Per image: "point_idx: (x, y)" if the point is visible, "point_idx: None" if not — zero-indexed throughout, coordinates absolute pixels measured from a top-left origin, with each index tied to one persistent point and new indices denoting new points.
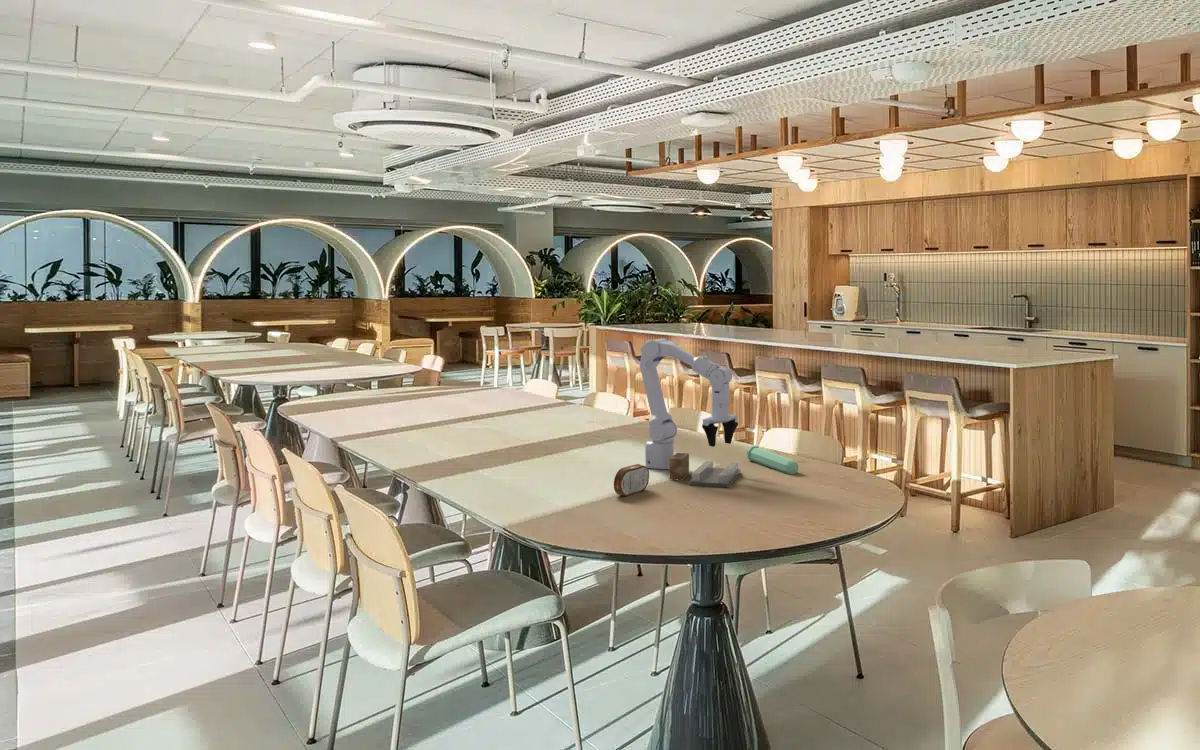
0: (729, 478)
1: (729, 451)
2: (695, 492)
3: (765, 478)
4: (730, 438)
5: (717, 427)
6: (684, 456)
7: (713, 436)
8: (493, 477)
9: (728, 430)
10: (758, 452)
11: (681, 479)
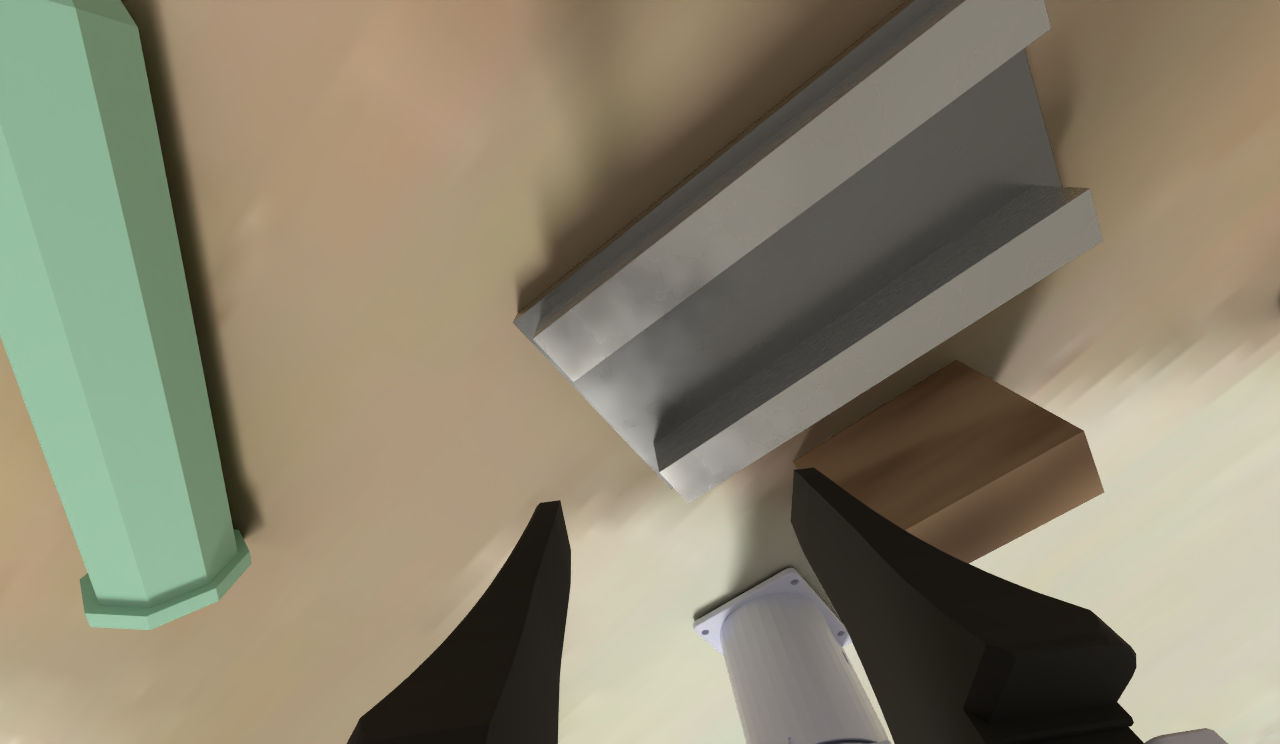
0: (834, 87)
1: (244, 733)
2: (1232, 3)
3: (455, 21)
4: (551, 538)
5: (1013, 638)
6: (973, 495)
7: (915, 537)
8: (1276, 716)
9: (540, 667)
10: (157, 516)
11: (960, 362)
